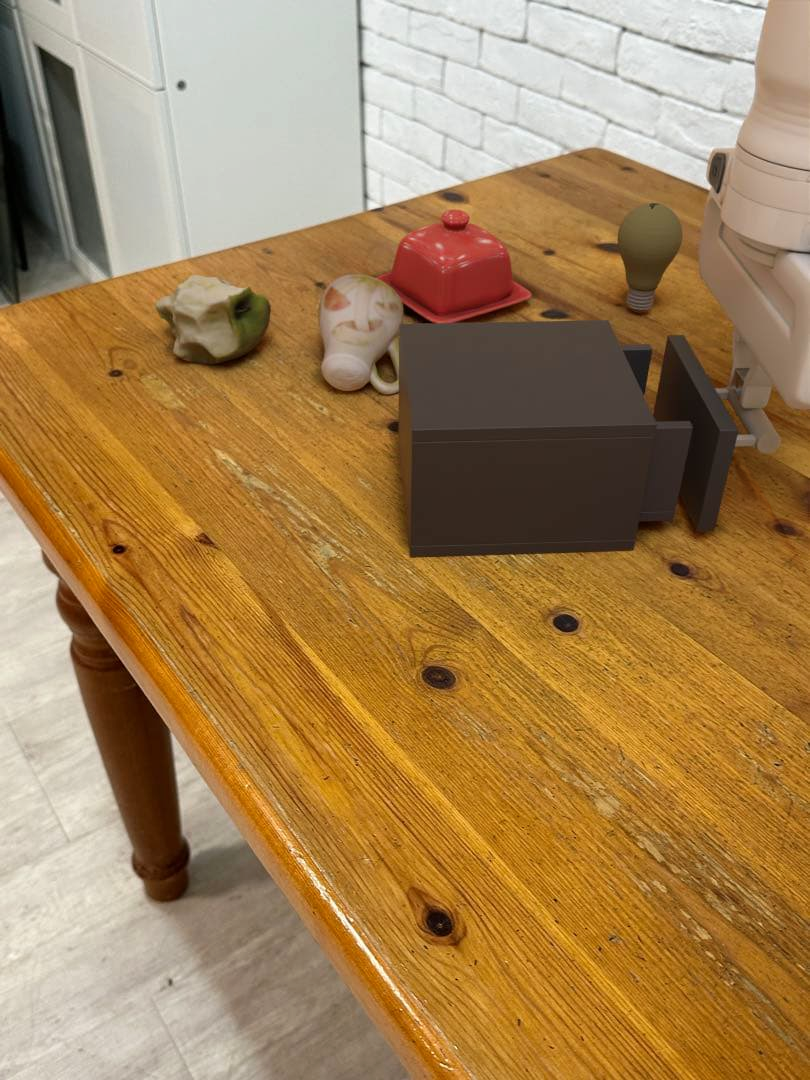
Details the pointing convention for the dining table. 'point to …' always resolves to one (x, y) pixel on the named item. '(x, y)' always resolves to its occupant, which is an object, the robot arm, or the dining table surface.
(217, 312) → the fruit
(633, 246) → the light bulb
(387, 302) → the mug
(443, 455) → the cabinet
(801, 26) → the robot arm
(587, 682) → the dining table surface
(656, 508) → the drawer
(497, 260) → the butter dish
